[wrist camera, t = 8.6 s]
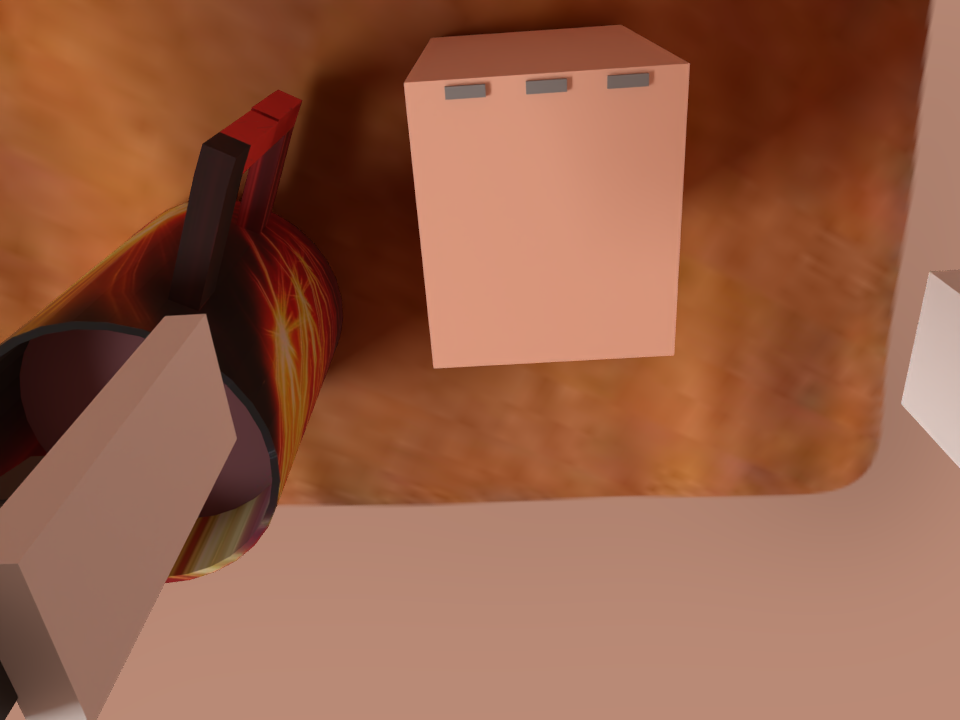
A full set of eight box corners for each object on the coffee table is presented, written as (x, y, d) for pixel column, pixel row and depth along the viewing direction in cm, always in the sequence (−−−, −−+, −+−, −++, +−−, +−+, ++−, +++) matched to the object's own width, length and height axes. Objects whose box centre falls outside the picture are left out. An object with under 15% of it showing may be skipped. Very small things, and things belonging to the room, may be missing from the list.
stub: (431, 37, 29) (403, 83, 19) (621, 24, 29) (691, 64, 19) (449, 243, 33) (433, 370, 23) (617, 233, 33) (675, 357, 23)
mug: (306, 82, 30) (210, 156, 20) (358, 393, 37) (306, 576, 26) (61, 101, 31) (-164, 183, 20) (154, 406, 37) (21, 590, 26)
